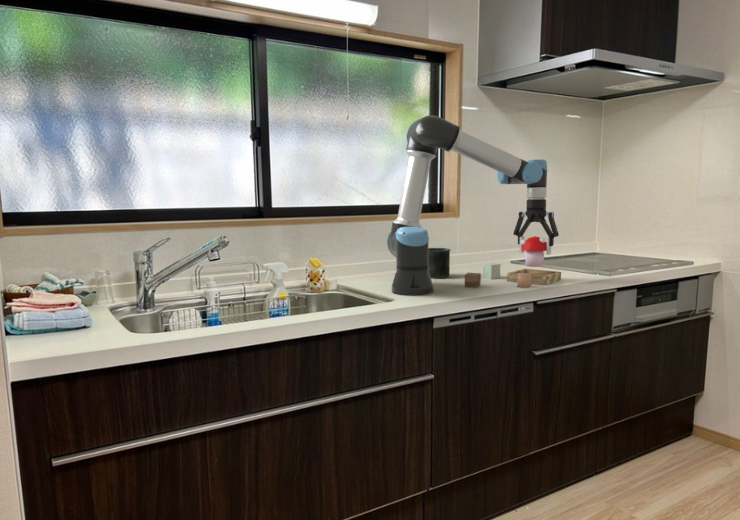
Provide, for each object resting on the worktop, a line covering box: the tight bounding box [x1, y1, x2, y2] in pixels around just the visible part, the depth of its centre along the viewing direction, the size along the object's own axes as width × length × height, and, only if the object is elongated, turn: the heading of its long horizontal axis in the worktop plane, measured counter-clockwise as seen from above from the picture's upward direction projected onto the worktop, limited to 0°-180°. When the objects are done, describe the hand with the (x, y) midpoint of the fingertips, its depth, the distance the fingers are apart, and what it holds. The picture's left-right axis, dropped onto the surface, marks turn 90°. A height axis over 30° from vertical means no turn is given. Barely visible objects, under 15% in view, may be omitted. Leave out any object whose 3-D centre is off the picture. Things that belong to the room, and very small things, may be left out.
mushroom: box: [521, 235, 547, 268], centre depth 220 cm, size 11×11×12 cm
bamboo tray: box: [506, 268, 562, 286], centre depth 221 cm, size 16×16×3 cm
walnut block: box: [464, 272, 482, 289], centre depth 209 cm, size 5×5×5 cm
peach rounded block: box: [516, 273, 532, 289], centre depth 207 cm, size 5×5×5 cm
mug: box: [428, 247, 451, 279], centre depth 233 cm, size 11×15×12 cm
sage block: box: [482, 262, 501, 280], centre depth 229 cm, size 5×5×6 cm
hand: (535, 253), depth 220 cm, fingers closed on mushroom, 11 cm apart
